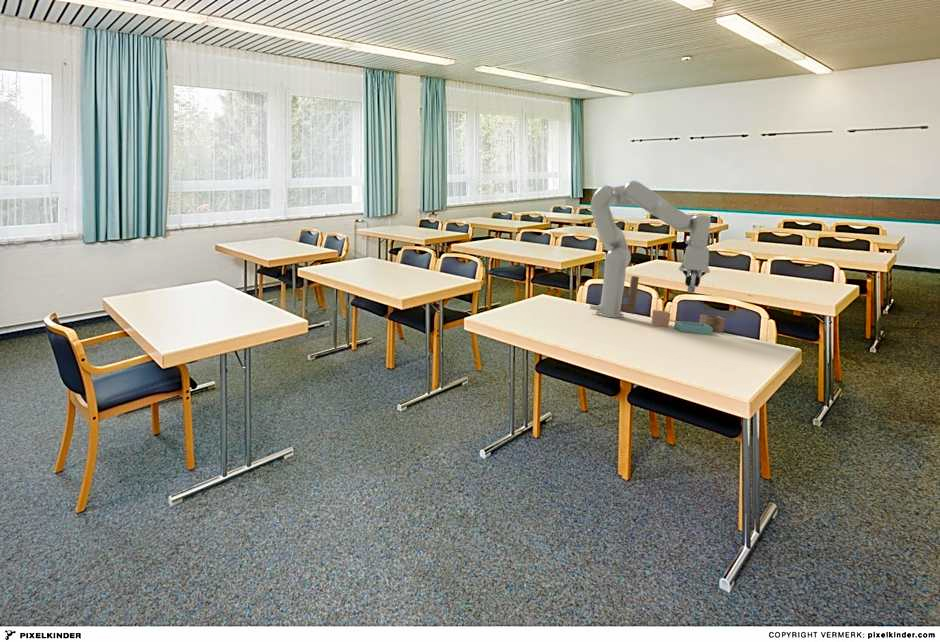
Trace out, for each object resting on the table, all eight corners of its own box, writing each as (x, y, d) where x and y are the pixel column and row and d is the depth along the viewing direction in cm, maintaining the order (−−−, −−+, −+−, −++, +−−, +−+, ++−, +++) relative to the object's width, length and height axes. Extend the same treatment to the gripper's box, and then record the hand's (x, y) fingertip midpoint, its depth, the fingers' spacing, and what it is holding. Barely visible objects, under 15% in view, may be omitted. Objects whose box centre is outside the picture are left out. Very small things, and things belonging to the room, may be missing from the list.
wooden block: (615, 309, 297) (620, 274, 294) (635, 312, 291) (640, 276, 287) (612, 309, 294) (617, 274, 291) (632, 313, 288) (637, 277, 285)
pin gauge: (688, 292, 256) (691, 269, 254) (686, 291, 259) (689, 268, 257) (695, 292, 255) (698, 269, 254) (693, 291, 258) (696, 269, 257)
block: (654, 325, 256) (656, 312, 254) (651, 323, 261) (653, 310, 260) (668, 327, 255) (670, 313, 254) (665, 324, 261) (666, 311, 260)
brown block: (704, 330, 253) (706, 317, 252) (698, 327, 261) (700, 314, 260) (722, 332, 252) (725, 319, 251) (716, 329, 260) (719, 316, 259)
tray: (680, 331, 245) (681, 324, 245) (674, 327, 255) (675, 320, 254) (711, 335, 244) (712, 327, 244) (704, 330, 254) (705, 323, 253)
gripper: (680, 242, 250) (675, 285, 254) (719, 246, 249) (713, 288, 252) (676, 242, 258) (670, 283, 261) (714, 245, 257) (708, 286, 260)
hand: (691, 285), depth 257 cm, fingers closed on pin gauge, 3 cm apart
